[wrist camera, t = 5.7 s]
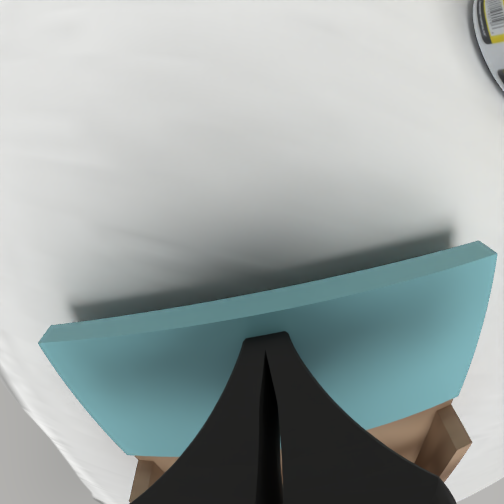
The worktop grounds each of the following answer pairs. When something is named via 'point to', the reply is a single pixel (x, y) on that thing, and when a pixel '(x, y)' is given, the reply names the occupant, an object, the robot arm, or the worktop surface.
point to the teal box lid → (303, 338)
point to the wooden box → (392, 435)
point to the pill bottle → (491, 35)
